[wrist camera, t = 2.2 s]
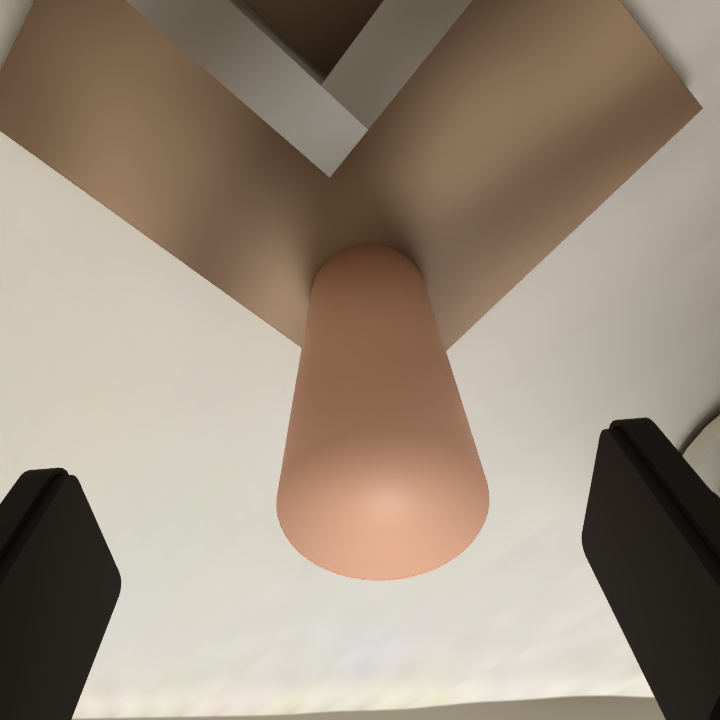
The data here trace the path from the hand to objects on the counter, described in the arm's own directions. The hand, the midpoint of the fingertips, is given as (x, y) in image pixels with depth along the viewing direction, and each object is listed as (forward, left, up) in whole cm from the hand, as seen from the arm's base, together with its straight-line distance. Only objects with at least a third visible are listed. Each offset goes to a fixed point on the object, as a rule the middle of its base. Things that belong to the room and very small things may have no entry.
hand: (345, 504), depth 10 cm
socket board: (+4, -4, -11) cm, 13 cm away
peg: (-1, 0, -10) cm, 10 cm away
